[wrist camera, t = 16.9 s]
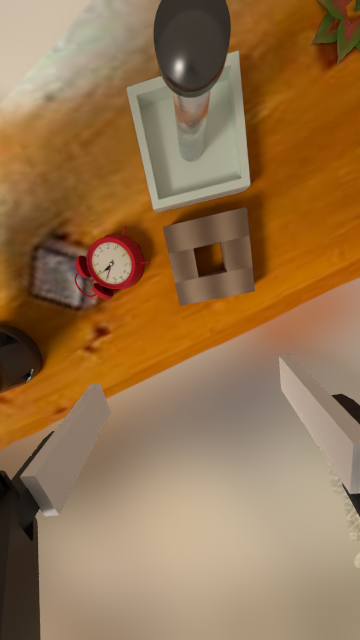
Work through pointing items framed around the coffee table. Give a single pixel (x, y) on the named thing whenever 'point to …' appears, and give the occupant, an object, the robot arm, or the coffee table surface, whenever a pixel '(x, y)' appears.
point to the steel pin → (191, 62)
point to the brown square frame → (235, 255)
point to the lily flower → (339, 27)
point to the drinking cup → (354, 499)
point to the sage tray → (219, 145)
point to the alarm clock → (111, 264)
